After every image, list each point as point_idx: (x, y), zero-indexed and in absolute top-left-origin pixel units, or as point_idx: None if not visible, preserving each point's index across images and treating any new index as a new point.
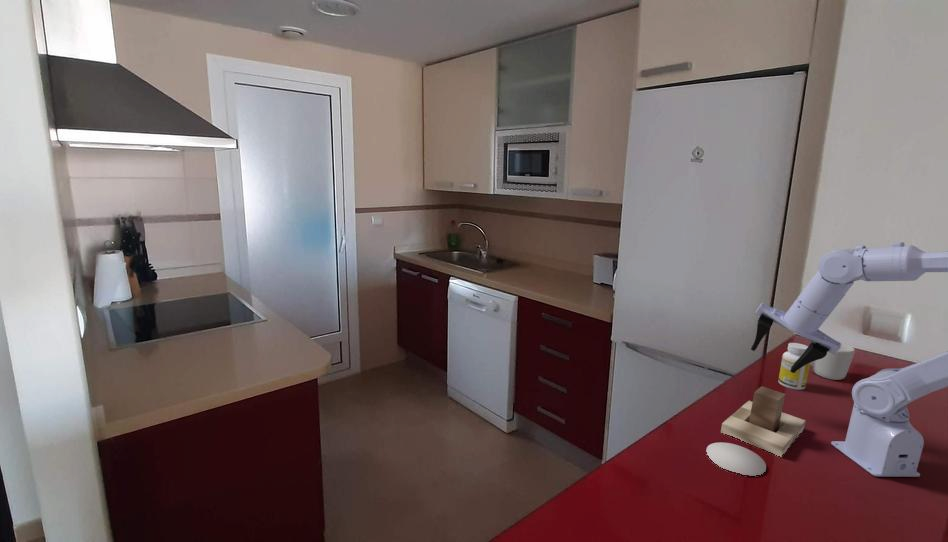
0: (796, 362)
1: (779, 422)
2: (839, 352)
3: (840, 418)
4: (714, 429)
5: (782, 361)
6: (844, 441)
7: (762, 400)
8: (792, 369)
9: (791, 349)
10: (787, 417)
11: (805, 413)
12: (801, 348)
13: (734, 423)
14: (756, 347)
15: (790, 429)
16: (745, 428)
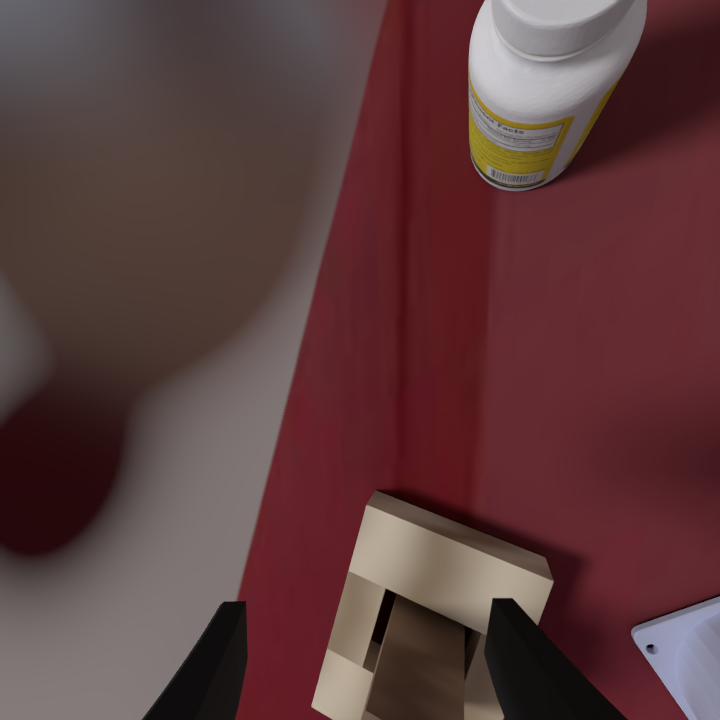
0: (520, 688)
1: (463, 641)
2: None
3: (702, 378)
4: (308, 663)
5: (471, 99)
6: (684, 617)
7: None
8: (494, 684)
9: (516, 37)
10: (491, 585)
11: (562, 411)
12: (593, 6)
13: (340, 697)
14: (233, 714)
15: None
16: None
